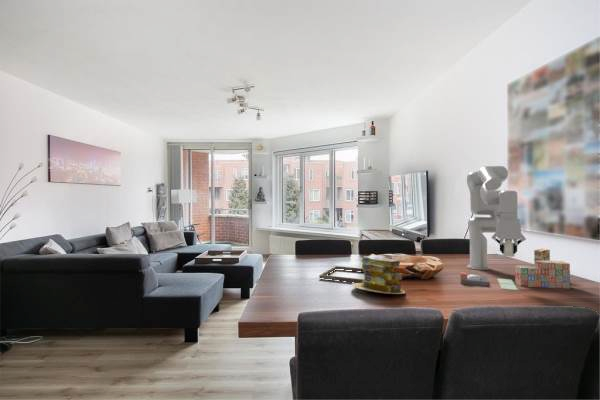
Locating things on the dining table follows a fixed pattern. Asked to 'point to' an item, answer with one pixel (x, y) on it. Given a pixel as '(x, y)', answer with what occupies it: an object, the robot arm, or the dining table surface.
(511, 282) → the track
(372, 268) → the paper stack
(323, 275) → the frame
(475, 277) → the dome
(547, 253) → the candy box
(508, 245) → the pawn
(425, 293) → the dining table surface
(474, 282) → the grey stepped block
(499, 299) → the dining table surface
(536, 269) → the stack of blocks
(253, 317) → the dining table surface
